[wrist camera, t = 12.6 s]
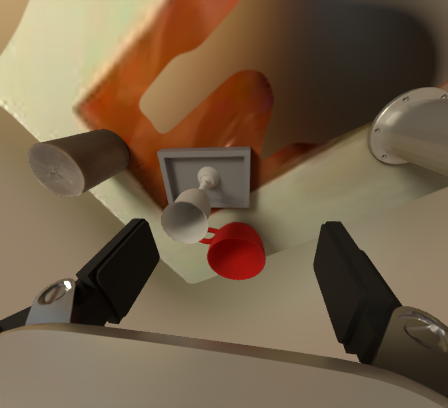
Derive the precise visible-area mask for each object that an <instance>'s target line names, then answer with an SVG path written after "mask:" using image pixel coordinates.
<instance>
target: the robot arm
mask: <svg viewBox="0 0 448 408" xmlns="http://www.w3.org/2000/svg"><path fill="white" fill-rule="evenodd" d="M375 129H376V130H375ZM368 145H369V149H370V151H371V153H372V154H373V155H374V156H375V157H376V158H377V159H379V160H381V161H383V162H385V163H388V164H405V163H409V162H410V163H413V164H415V165H418V166H420V167H423V168H425V169H428V170H431V171H433V172H436V173H438V174H441V175H443V176H446V177H448V92H447V91H445V90H443V89H440V88H432V87H427V88H419V89H415V90H411V91H409V92H406V93H404V94H402V95H400V96H398V97H397V98H395V99H394V100H392V101H391V102H390V103H388V104H387V105H386V106H385V107H384V108H383V109H382V110H381V112H380V113H379V114H378V115H377V117H376V118H375V120H374V122H373V124H372V126H371V128H370V131H369V136H368ZM159 259H160V255H159V252H158V249H157V246H156V244H155V241H154V238H153V235H152V232H151V229H150V226H149V223H148V222H147V221H146V220H145V219H138V218H135V219H132V220H131V221H130V222H129V223H128V224H127V225H126V226H125V227H124V228H123V229H122V230H121V231H120V232H119V233H118V234H117V235H116V236H115V237H114V238H113V239H112V240H111V241H109V242H108V243H107V244H106V245H105V246H104V247H103V248H102V249H101V250H100V251H99V252H98V253H97V254H96V255H95V256H94V257H93V258H92V259H91V260H90V261H89V262H88V263H87V264H86V265H85V266H84V267H83V268H82V269H81V270H80V271H79V272H78V273H77V274H76V276H77V277H78V280H77V281H76V282H75V281H74V280H73V279H70V278H67V279H62V280H59V281H56V282H54V283H52V284H50V285H49V286H47V287H46V288H44V290H42V291H41V292H40V293H39V294H38V295H37V296H36V297H35V299H34V301H33V304H32V306H30V307H28V308H26V309H24V310H22V311H20V312H17V313H15V314H13V315H11V316H9V317H7V318H5V319H3V320H0V408H448V327H447V326H446V325H445V324H443V323H442V322H441V321H440V320H438V319H437V318H435V317H434V316H432V315H430V314H429V313H427V312H424V311H422V310H420V309H416V308H413V307H408V306H402V305H401V303H400V302H399V300H398V299H397V297H396V296H395V295H394V293H393V292H392V290H391V289H390V287H389V286H388V285H387V283H386V282H385V280H384V279H383V277H382V276H381V275H380V273H379V272H378V270H377V269H376V268H375V266H374V265H373V263H372V262H371V260H370V259H369V258H368V256H367V255H366V253H365V252H364V251H362V250H360V249H359V248H358V246H357V245H356V243H355V242H354V240H353V239H352V238H351V236H350V235H349V233H348V232H347V230H346V229H345V227H344V226H343V224H342V223H341V222H337V221H327V222H326V223H325V224H322V226H321V230H320V235H319V239H318V244H317V249H316V254H315V259H314V265H313V266H314V272H315V275H316V278H317V280H318V284H319V286H320V290H321V293H322V296H323V298H324V302H325V304H326V307H327V311H328V314H329V317H330V320H331V322H332V325H333V328H334V331H335V334H336V337H337V340H338V342H339V343H342V344H343V345H344V348H345V351H346V353H350V354H357V357H358V359H359V362H361V363H358V362H352V361H347V360H343V359H337V358H331V357H324V356H318V355H312V354H305V353H299V352H292V351H285V350H278V349H271V348H264V347H256V346H249V345H242V344H234V343H227V342H219V341H211V340H205V339H197V338H189V337H182V336H174V335H166V334H159V333H151V332H143V331H135V330H127V329H119V328H111V327H105V326H104V325H105V323H106V322H107V321H108V322H109V323H114V324H119V323H120V321H121V320H122V318H123V317H125V316H126V315H127V313H128V312H129V310H130V308H131V307H132V305H133V303H134V302H135V300H136V298H137V297H138V295H139V293H140V292H141V290H142V288H143V287H144V285H145V283H146V282H147V280H148V278H149V277H150V275H151V273H152V272H153V270H154V268H155V267H156V265H157V263H158V262H159Z"/></svg>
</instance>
